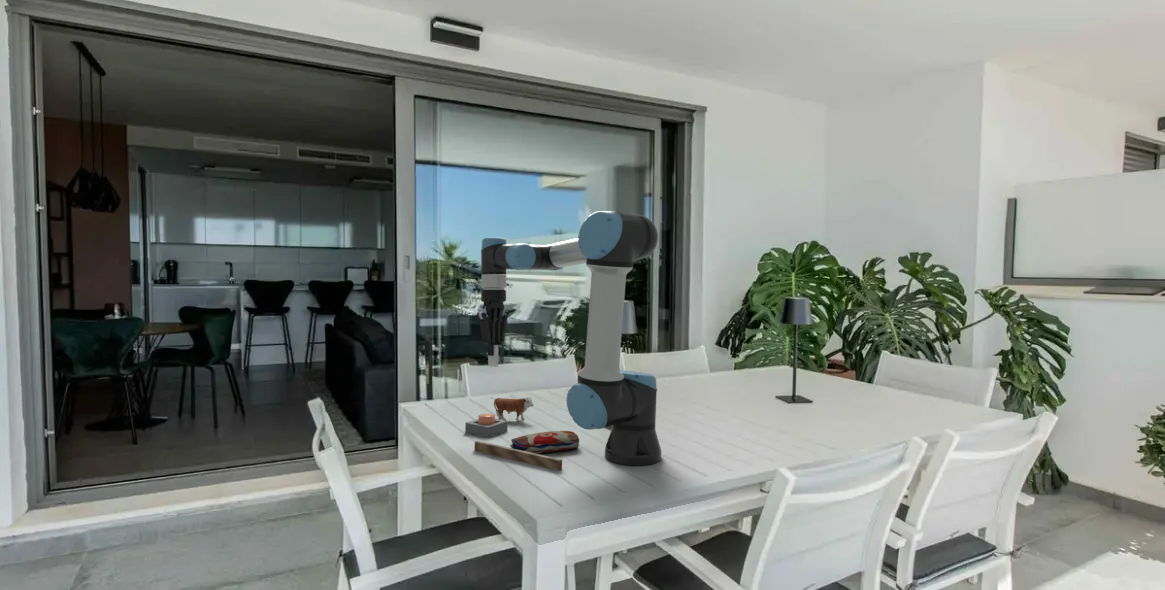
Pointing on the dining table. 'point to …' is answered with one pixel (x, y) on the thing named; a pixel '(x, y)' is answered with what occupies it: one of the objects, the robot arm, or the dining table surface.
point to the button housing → (486, 428)
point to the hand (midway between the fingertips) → (493, 366)
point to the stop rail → (519, 455)
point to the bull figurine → (512, 406)
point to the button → (486, 419)
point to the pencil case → (546, 441)
